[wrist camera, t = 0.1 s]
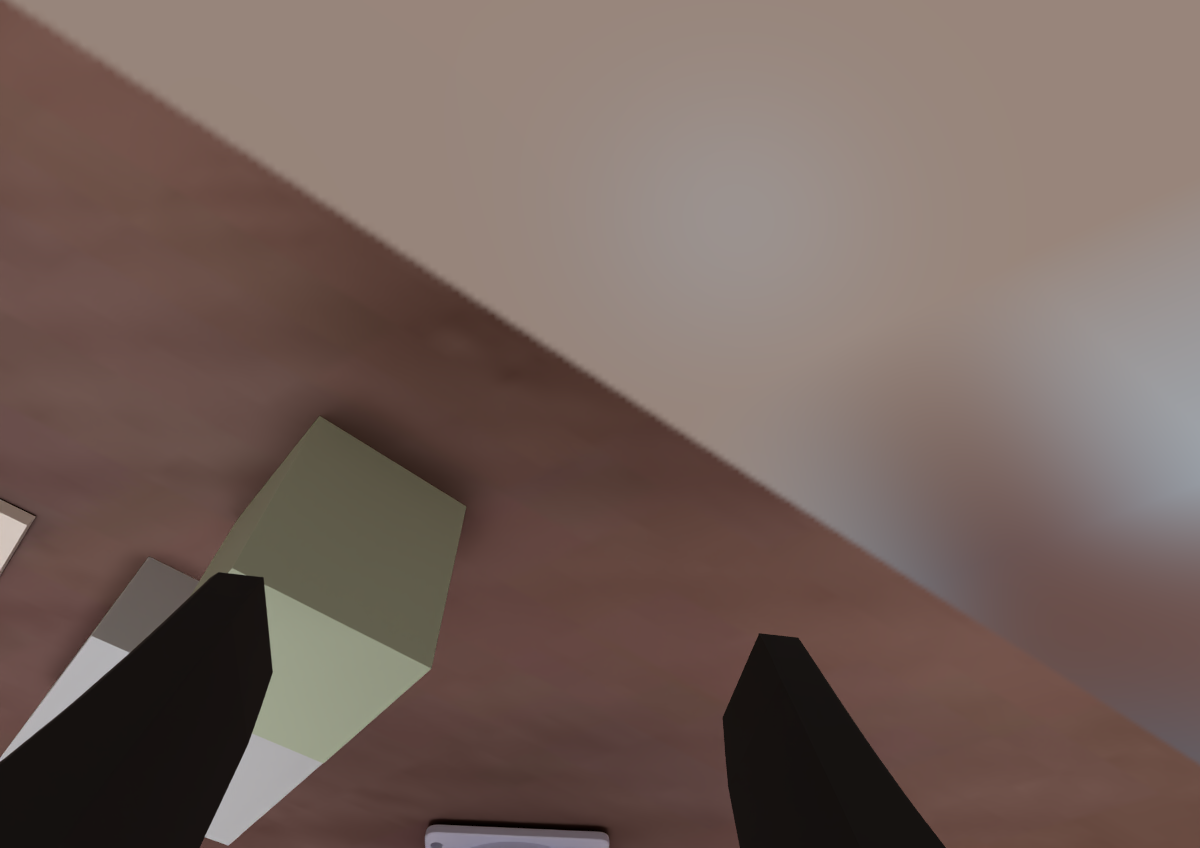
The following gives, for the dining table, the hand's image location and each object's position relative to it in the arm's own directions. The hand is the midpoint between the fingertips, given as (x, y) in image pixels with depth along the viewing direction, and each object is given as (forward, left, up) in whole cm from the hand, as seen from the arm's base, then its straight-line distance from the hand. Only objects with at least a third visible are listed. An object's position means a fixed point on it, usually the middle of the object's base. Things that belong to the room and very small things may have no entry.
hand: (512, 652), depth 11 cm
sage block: (-6, +6, -10) cm, 13 cm away
